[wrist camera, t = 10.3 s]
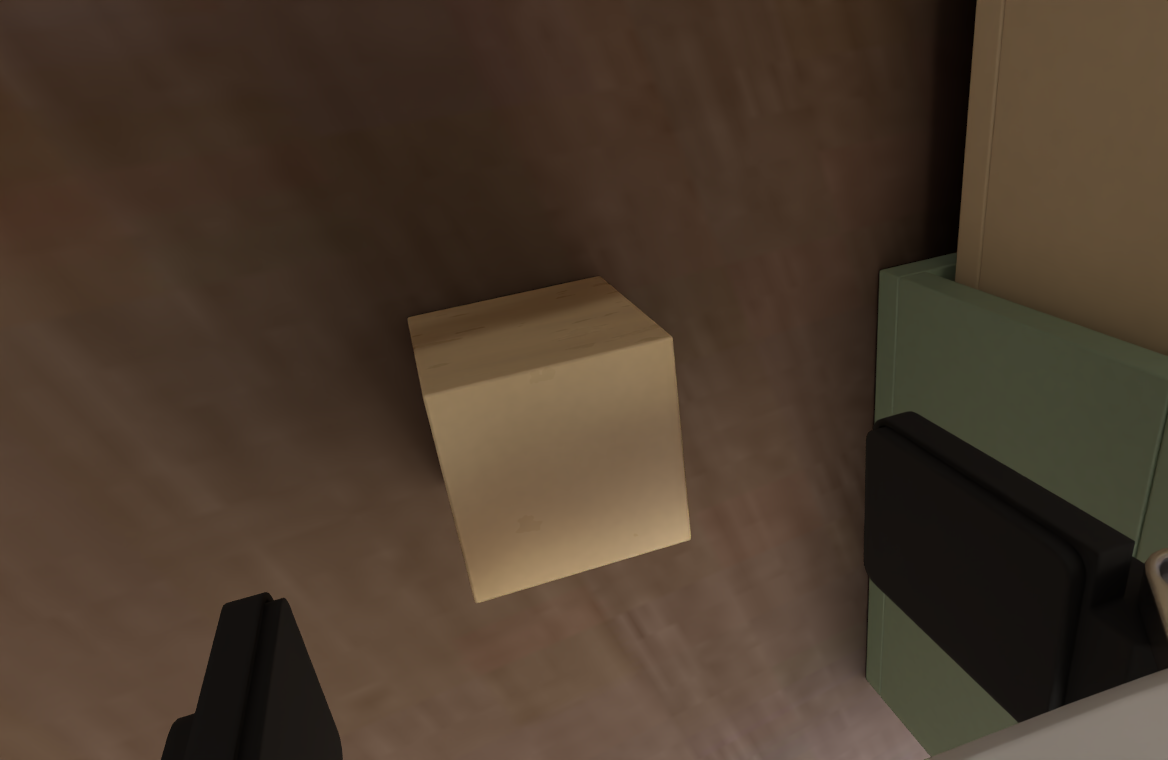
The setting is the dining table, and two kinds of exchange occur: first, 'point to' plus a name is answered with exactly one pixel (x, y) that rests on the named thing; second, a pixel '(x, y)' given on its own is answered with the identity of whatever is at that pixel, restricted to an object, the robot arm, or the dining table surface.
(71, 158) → the dining table surface
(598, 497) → the block
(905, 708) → the cabinet
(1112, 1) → the drawer
